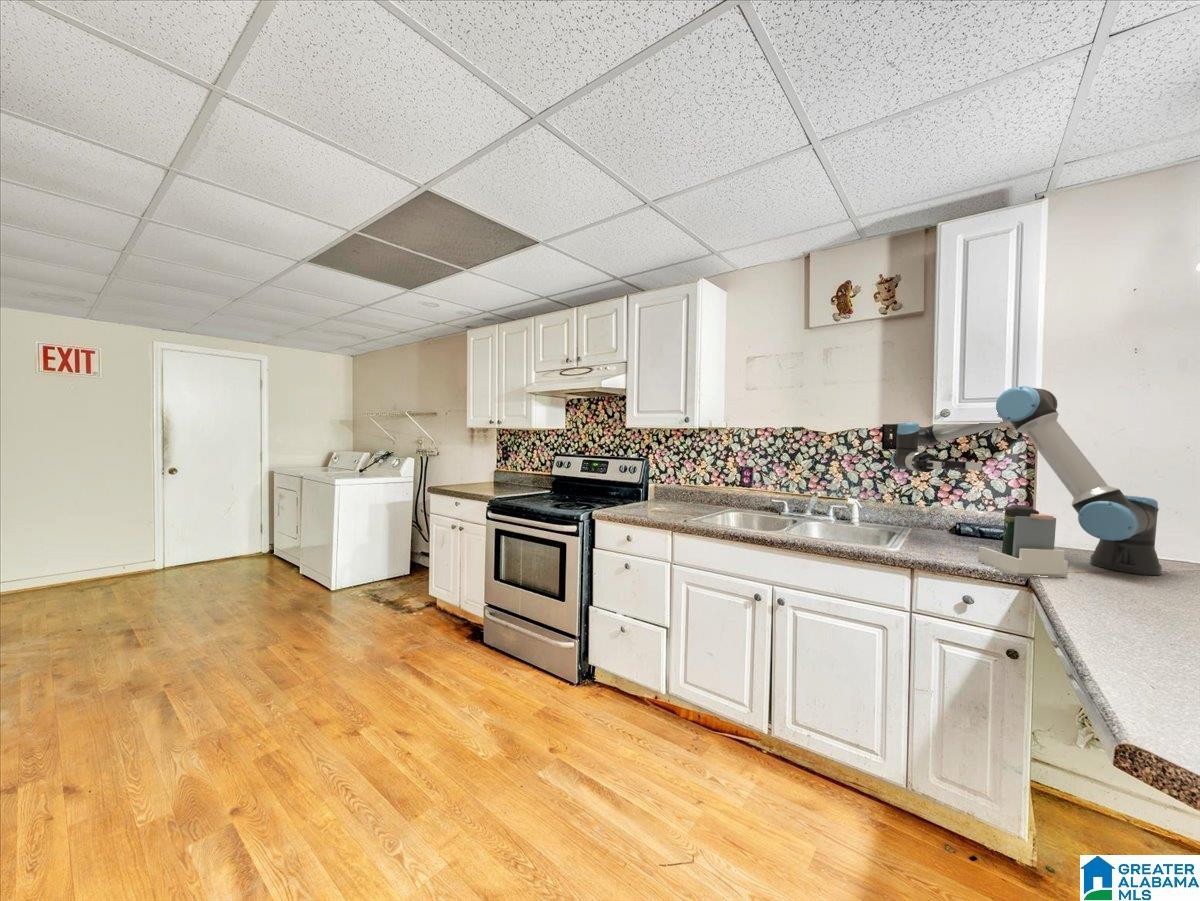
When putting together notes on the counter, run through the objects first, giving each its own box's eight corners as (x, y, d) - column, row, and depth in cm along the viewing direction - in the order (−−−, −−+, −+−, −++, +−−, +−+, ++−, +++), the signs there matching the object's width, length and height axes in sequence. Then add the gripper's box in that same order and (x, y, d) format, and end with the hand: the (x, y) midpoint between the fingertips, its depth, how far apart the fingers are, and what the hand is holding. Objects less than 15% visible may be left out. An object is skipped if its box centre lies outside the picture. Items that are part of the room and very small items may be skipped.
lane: (1022, 563, 152) (1024, 538, 152) (1066, 578, 137) (1068, 550, 137) (978, 561, 153) (979, 537, 152) (1017, 576, 138) (1019, 549, 137)
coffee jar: (1038, 570, 140) (1042, 508, 139) (1003, 565, 144) (1007, 505, 144) (1032, 564, 148) (1036, 505, 147) (999, 559, 152) (1003, 502, 152)
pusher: (1050, 557, 141) (1053, 514, 140) (1062, 561, 137) (1066, 516, 136) (1012, 555, 141) (1015, 512, 141) (1023, 559, 137) (1026, 515, 137)
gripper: (953, 472, 185) (996, 478, 164) (888, 470, 186) (923, 476, 165) (954, 453, 185) (998, 456, 164) (889, 451, 186) (924, 454, 165)
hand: (960, 466), depth 164 cm, fingers open, 13 cm apart
